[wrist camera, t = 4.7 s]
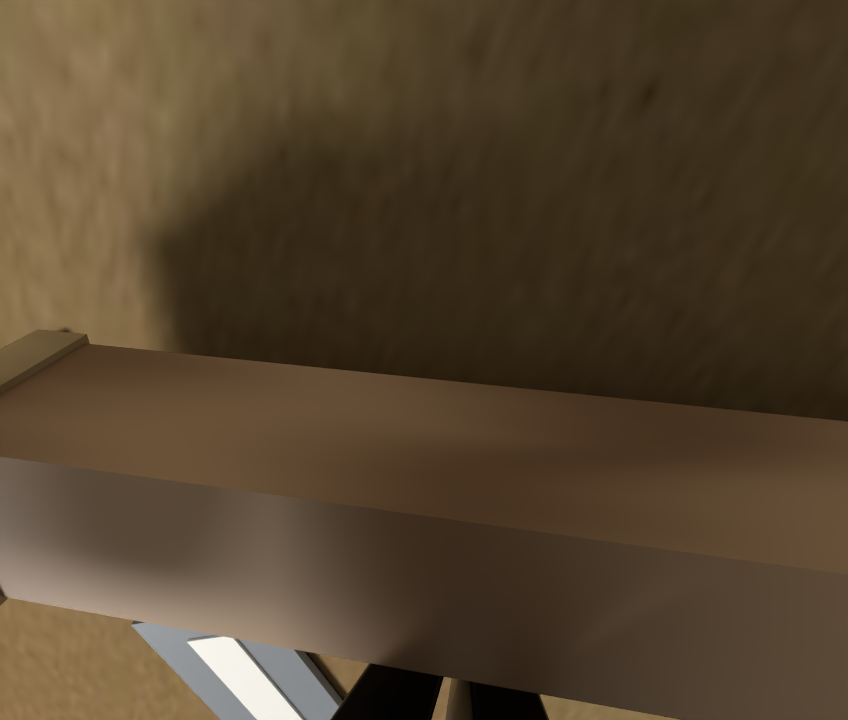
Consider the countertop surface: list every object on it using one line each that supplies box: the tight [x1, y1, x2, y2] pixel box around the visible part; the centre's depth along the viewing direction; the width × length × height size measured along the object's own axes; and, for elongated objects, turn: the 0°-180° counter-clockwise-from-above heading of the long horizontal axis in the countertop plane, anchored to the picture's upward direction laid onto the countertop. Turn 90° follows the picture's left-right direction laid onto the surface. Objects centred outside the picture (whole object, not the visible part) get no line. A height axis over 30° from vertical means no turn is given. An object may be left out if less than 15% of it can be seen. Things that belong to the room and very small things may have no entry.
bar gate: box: [0, 330, 848, 720], centre depth 6 cm, size 14×3×3 cm, turn 89°
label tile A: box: [131, 620, 343, 720], centre depth 14 cm, size 6×4×1 cm, turn 24°
